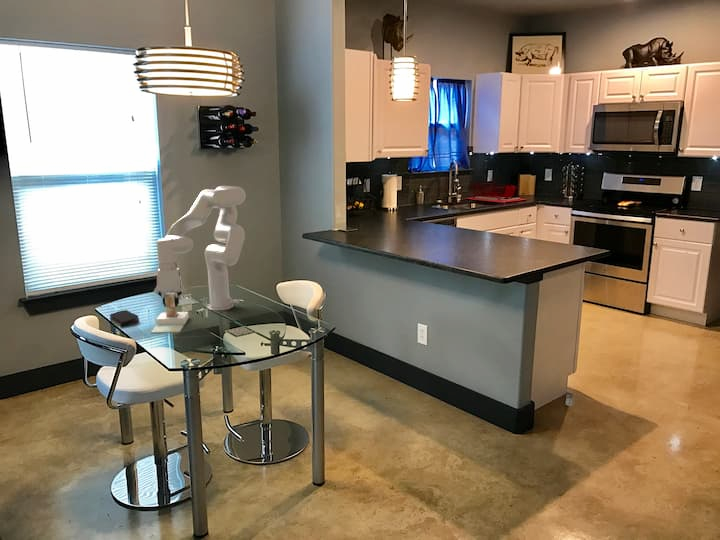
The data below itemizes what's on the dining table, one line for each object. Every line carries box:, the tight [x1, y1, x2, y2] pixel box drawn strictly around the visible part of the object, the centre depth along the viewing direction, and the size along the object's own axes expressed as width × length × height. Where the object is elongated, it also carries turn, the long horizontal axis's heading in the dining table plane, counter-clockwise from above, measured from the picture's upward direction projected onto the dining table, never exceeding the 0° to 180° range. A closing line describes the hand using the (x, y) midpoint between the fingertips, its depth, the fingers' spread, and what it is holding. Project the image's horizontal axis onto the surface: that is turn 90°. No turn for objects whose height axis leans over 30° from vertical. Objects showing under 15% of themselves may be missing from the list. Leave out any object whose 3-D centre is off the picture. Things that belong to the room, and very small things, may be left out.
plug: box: [165, 292, 178, 317], centre depth 258 cm, size 4×4×10 cm
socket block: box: [155, 311, 190, 326], centre depth 260 cm, size 12×10×4 cm
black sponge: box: [109, 309, 140, 328], centre depth 261 cm, size 16×8×4 cm, turn 44°
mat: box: [150, 324, 185, 334], centre depth 250 cm, size 12×9×1 cm
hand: (171, 305), depth 258 cm, fingers closed on plug, 4 cm apart
